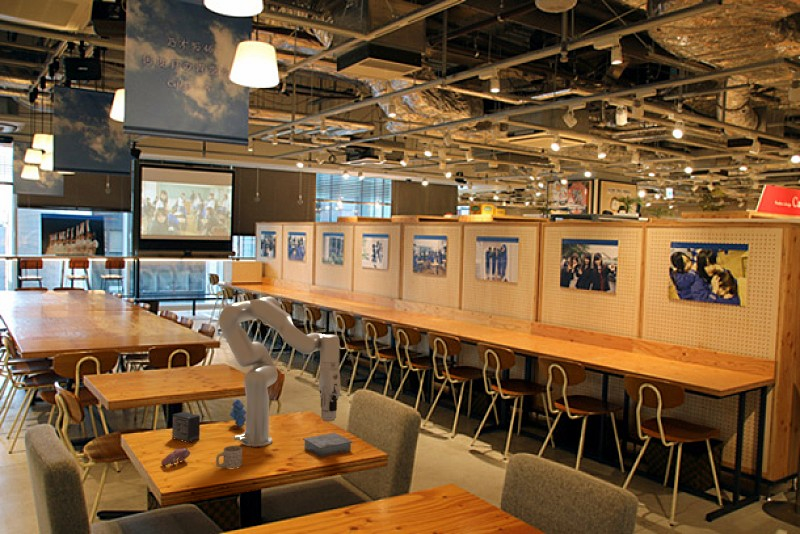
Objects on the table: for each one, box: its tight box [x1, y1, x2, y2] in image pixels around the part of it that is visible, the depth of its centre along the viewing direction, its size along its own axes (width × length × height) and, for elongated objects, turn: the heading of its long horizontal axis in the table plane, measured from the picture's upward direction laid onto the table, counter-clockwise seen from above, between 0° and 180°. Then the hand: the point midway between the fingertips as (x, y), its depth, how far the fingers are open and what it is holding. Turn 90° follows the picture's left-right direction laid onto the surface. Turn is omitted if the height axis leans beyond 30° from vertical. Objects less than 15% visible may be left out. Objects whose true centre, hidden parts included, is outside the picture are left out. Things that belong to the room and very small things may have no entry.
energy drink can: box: [320, 386, 337, 422], centre depth 260 cm, size 6×6×15 cm
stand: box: [302, 432, 353, 458], centre depth 260 cm, size 15×14×4 cm
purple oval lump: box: [161, 447, 191, 466], centre depth 240 cm, size 10×5×7 cm, turn 149°
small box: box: [171, 411, 201, 443], centre depth 269 cm, size 11×6×10 cm, turn 58°
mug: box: [215, 445, 243, 469], centre depth 238 cm, size 10×7×7 cm
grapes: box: [229, 399, 246, 428], centre depth 289 cm, size 12×7×12 cm, turn 37°
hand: (328, 408), depth 260 cm, fingers closed on energy drink can, 6 cm apart
